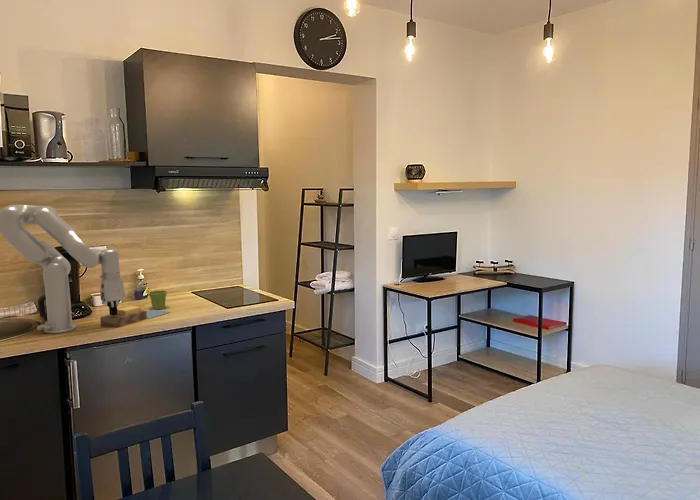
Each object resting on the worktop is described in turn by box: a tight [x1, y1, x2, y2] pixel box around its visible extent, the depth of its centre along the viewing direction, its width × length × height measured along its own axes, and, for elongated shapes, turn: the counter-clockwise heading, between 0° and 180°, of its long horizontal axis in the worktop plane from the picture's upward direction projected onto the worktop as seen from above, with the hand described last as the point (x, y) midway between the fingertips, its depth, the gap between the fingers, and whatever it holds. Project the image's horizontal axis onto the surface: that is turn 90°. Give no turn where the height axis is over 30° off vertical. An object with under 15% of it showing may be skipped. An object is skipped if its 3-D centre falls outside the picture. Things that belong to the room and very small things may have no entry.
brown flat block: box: [99, 309, 148, 329], centre depth 250 cm, size 18×10×4 cm, turn 154°
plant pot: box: [147, 289, 168, 310], centre depth 277 cm, size 9×9×9 cm
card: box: [117, 305, 142, 315], centre depth 252 cm, size 9×6×2 cm, turn 154°
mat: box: [146, 309, 171, 320], centre depth 265 cm, size 14×12×1 cm
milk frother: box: [37, 293, 47, 319], centre depth 251 cm, size 14×16×15 cm
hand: (113, 314), depth 244 cm, fingers closed
